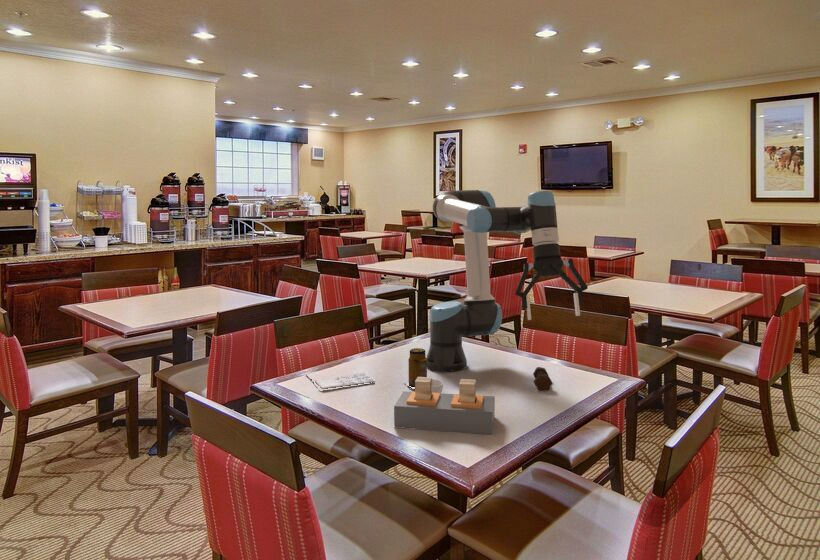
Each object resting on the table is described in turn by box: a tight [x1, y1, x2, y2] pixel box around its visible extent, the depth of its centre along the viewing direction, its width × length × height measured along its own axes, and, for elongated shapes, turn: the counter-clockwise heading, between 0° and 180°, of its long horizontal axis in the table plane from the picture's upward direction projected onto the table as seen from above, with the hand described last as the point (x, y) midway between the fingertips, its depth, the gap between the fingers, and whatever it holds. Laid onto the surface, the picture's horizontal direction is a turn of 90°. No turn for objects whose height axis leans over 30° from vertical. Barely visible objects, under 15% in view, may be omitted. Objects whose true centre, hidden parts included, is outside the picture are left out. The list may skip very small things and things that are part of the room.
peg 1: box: [414, 376, 433, 400], centre depth 151 cm, size 4×4×7 cm
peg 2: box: [458, 378, 477, 403], centre depth 149 cm, size 4×4×7 cm
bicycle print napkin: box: [314, 371, 376, 389], centre depth 190 cm, size 19×20×2 cm
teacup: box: [432, 378, 447, 394], centre depth 171 cm, size 10×10×5 cm
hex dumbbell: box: [532, 366, 553, 392], centre depth 183 cm, size 6×5×15 cm
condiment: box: [408, 347, 428, 391], centre depth 181 cm, size 7×8×12 cm
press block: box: [393, 390, 496, 435], centre depth 151 cm, size 12×26×7 cm, turn 79°
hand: (553, 318), depth 158 cm, fingers open, 13 cm apart
